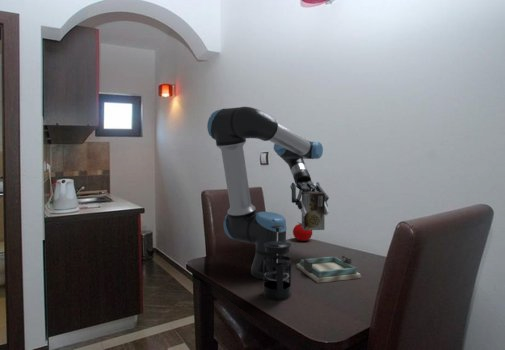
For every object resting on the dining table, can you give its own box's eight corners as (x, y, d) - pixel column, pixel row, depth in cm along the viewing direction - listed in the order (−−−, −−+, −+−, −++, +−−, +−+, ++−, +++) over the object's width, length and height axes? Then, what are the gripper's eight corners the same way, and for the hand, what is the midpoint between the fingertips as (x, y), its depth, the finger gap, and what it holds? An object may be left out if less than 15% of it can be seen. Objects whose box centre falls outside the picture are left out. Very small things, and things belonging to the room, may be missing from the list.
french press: (260, 288, 121) (261, 222, 119) (287, 287, 122) (288, 222, 120) (265, 303, 109) (265, 230, 108) (294, 302, 110) (295, 229, 109)
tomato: (305, 244, 181) (305, 225, 181) (288, 240, 188) (289, 222, 188) (316, 240, 189) (316, 222, 188) (300, 237, 196) (300, 219, 196)
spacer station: (317, 282, 126) (317, 268, 126) (296, 267, 144) (297, 254, 143) (360, 278, 132) (361, 263, 131) (335, 263, 149) (335, 251, 149)
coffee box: (321, 227, 157) (321, 191, 156) (324, 230, 151) (325, 193, 150) (300, 227, 157) (301, 191, 156) (303, 230, 150) (304, 192, 149)
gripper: (319, 180, 171) (335, 217, 156) (276, 180, 164) (289, 220, 150) (325, 169, 165) (342, 207, 151) (280, 170, 158) (294, 209, 144)
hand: (316, 214), depth 150 cm, fingers closed on coffee box, 10 cm apart
